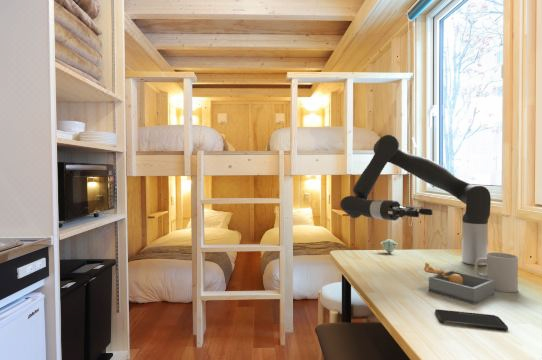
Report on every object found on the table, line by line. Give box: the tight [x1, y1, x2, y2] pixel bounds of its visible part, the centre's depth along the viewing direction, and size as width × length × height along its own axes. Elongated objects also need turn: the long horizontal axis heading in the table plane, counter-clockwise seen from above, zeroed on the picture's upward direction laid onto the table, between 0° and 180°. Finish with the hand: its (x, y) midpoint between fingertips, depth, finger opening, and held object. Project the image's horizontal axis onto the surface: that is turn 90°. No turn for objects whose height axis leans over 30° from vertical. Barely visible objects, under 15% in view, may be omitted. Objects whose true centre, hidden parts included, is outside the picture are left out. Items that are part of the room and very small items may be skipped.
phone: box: [434, 308, 509, 332], centre depth 85 cm, size 8×1×15 cm
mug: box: [474, 251, 519, 294], centre depth 110 cm, size 12×8×11 cm
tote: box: [428, 269, 495, 305], centre depth 105 cm, size 14×14×4 cm
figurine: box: [423, 262, 463, 285], centre depth 109 cm, size 8×6×12 cm
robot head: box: [380, 238, 399, 254], centre depth 159 cm, size 8×4×7 cm, turn 66°
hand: (425, 213), depth 114 cm, fingers open, 8 cm apart
